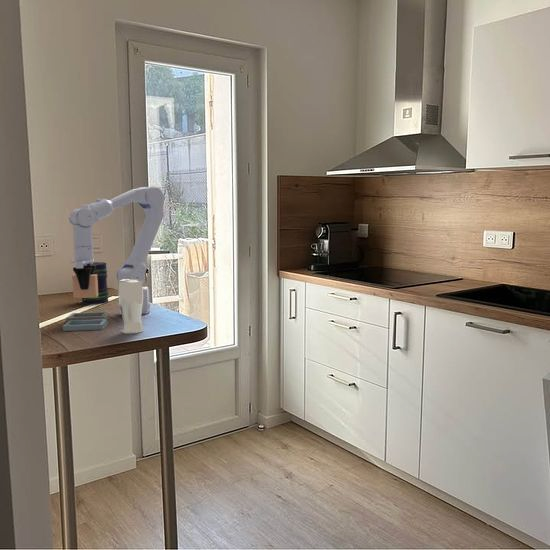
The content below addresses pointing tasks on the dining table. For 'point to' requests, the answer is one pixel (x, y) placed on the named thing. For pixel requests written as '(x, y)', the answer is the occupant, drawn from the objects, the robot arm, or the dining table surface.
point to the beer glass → (131, 305)
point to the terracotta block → (86, 293)
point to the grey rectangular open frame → (87, 316)
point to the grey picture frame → (85, 325)
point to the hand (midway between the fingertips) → (85, 288)
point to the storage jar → (99, 285)
